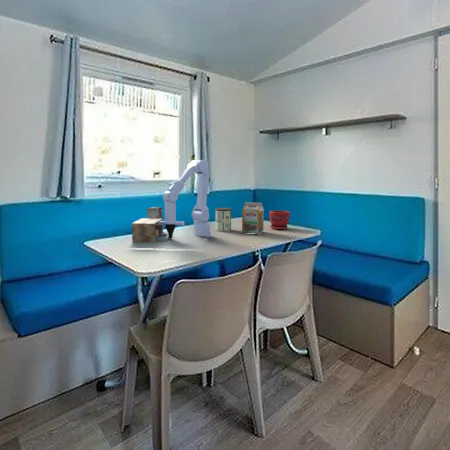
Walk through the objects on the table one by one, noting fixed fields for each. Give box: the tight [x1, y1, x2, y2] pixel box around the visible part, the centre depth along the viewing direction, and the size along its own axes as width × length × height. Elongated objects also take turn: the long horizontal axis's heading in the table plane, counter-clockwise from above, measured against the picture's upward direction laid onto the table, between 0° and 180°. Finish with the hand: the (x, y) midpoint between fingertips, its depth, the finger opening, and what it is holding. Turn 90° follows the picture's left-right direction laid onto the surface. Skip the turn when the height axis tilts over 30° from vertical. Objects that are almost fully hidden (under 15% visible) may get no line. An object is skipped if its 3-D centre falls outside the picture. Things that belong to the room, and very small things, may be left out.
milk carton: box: [241, 201, 265, 235], centre depth 211 cm, size 11×11×19 cm
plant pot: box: [269, 210, 291, 230], centre depth 227 cm, size 13×13×12 cm
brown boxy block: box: [131, 217, 164, 244], centre depth 187 cm, size 12×18×11 cm, turn 177°
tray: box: [156, 233, 171, 242], centre depth 187 cm, size 12×9×3 cm
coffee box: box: [146, 206, 164, 220], centre depth 205 cm, size 9×6×16 cm
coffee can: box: [215, 207, 232, 232], centre depth 221 cm, size 10×10×14 cm
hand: (170, 238), depth 187 cm, fingers closed
